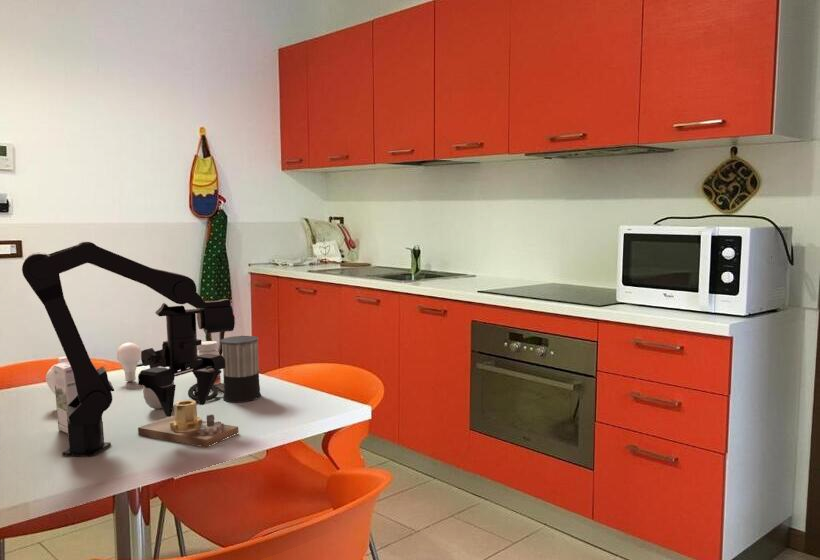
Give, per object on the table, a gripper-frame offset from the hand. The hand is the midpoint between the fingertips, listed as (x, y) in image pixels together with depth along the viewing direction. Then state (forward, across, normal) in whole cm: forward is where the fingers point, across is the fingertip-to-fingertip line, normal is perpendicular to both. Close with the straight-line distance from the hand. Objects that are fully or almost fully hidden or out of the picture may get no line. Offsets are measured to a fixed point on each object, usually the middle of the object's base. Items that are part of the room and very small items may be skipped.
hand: (185, 410), depth 141 cm
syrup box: (+5, +8, -24) cm, 26 cm away
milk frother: (+5, -25, -12) cm, 28 cm away
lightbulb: (+5, -27, -48) cm, 56 cm away
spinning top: (+5, -3, -43) cm, 43 cm away
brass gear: (+3, 0, 0) cm, 3 cm away
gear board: (+5, 0, 0) cm, 5 cm away
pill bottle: (+5, -34, -26) cm, 43 cm away
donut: (+5, -12, -20) cm, 24 cm away
